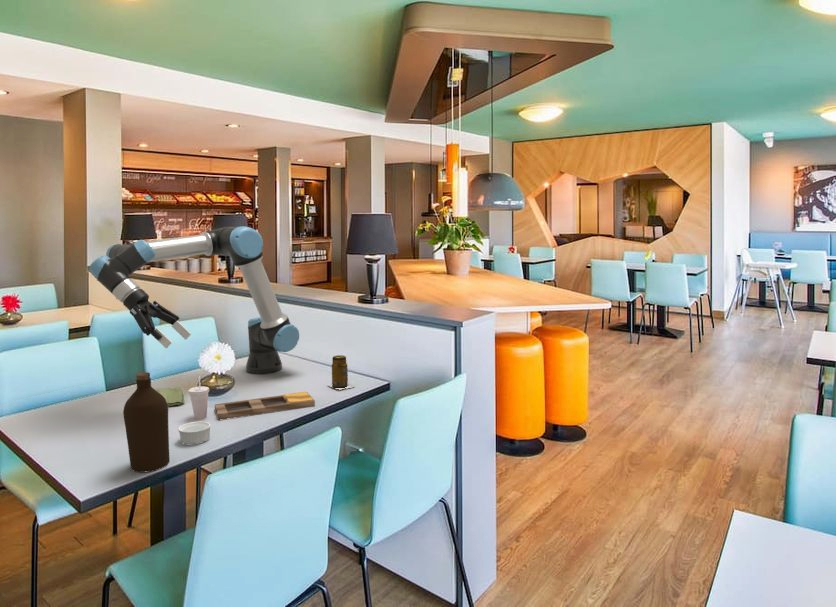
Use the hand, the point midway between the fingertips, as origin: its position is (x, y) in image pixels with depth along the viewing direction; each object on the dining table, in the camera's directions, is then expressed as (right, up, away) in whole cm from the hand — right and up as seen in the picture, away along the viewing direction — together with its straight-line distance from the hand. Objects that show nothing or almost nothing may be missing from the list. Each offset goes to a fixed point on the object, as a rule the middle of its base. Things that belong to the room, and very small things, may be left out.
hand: (179, 341), depth 186 cm
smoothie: (+7, -25, 0) cm, 26 cm away
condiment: (+49, -20, +32) cm, 62 cm away
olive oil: (+8, -31, -36) cm, 48 cm away
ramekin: (+13, -28, -19) cm, 37 cm away
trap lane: (+26, -24, +9) cm, 36 cm away
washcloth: (-12, -23, +17) cm, 32 cm away
